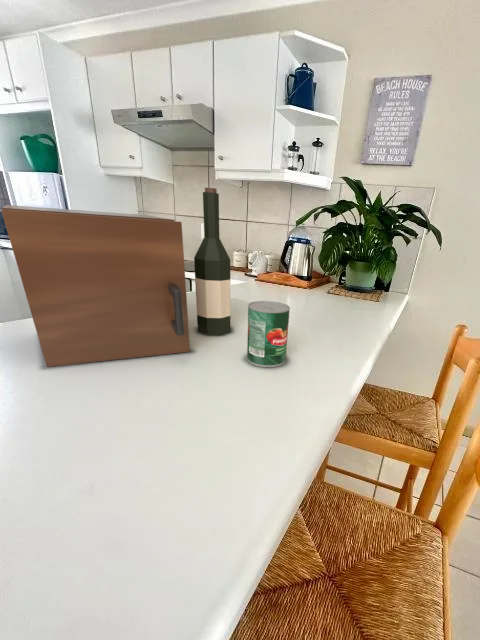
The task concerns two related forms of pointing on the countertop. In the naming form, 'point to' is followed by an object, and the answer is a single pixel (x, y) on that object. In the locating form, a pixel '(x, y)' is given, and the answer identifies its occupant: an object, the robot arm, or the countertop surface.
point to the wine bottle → (212, 273)
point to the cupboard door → (101, 284)
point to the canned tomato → (267, 333)
